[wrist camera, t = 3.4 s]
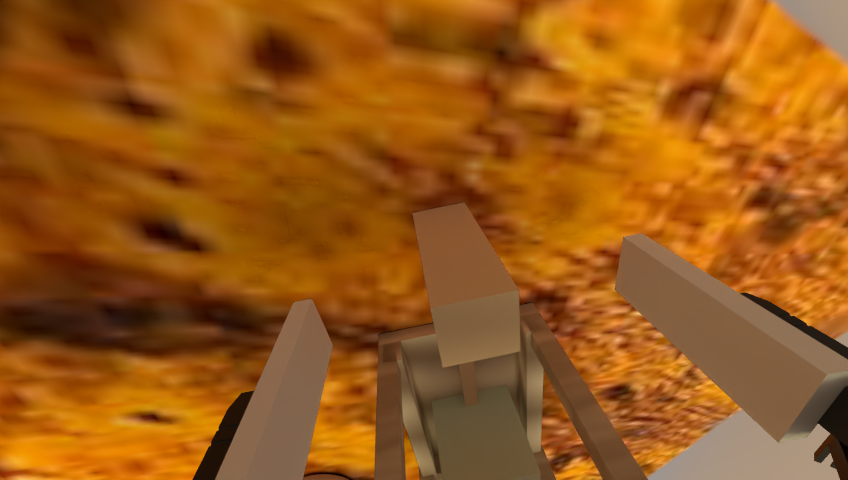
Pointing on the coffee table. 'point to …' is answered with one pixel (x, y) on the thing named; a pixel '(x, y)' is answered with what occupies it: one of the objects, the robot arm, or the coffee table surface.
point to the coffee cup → (324, 477)
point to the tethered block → (472, 347)
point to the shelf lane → (522, 373)
